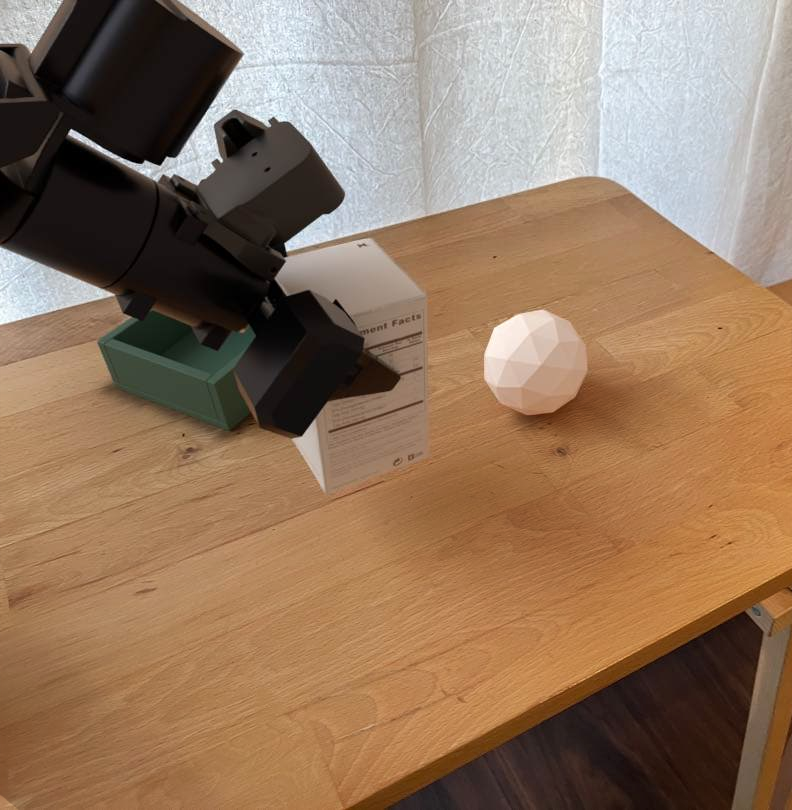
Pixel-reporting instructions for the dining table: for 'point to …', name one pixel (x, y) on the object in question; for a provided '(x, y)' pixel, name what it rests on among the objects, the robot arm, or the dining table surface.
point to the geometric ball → (535, 362)
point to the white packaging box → (388, 340)
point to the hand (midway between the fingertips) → (369, 348)
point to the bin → (177, 368)
